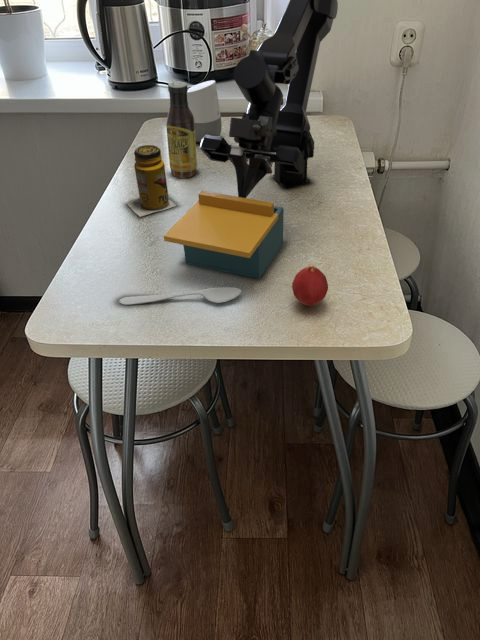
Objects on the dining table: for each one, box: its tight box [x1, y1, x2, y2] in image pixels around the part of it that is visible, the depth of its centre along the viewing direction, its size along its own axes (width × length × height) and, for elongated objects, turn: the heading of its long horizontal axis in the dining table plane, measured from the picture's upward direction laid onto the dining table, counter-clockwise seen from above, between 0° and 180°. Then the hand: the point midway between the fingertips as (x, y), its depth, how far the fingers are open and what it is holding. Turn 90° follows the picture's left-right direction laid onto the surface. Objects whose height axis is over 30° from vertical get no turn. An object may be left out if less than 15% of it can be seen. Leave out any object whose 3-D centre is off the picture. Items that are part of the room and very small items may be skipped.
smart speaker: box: [187, 79, 223, 144], centre depth 146 cm, size 10×9×14 cm
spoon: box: [118, 287, 242, 306], centre depth 98 cm, size 4×21×2 cm, turn 92°
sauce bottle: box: [165, 80, 198, 179], centre depth 128 cm, size 7×6×20 cm
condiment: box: [125, 144, 177, 218], centre depth 120 cm, size 7×8×12 cm
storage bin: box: [183, 205, 285, 280], centre depth 106 cm, size 13×15×8 cm
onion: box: [291, 264, 329, 307], centre depth 94 cm, size 6×6×8 cm
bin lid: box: [163, 190, 278, 258], centre depth 100 cm, size 14×16×3 cm
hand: (241, 199), depth 105 cm, fingers closed
